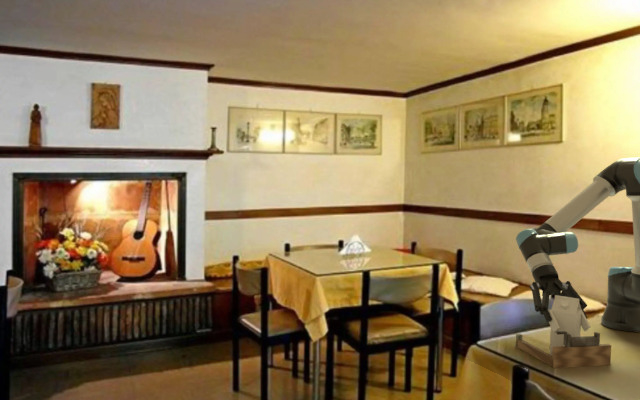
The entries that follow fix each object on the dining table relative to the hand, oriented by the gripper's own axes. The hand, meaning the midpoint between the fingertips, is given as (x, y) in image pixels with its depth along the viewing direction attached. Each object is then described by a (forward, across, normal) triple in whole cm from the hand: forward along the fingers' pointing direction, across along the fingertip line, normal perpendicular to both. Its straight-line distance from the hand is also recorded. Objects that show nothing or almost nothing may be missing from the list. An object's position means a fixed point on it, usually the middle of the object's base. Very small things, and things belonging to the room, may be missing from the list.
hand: (572, 329), depth 157 cm
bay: (+3, 0, -10) cm, 11 cm away
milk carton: (+5, 0, -9) cm, 10 cm away
